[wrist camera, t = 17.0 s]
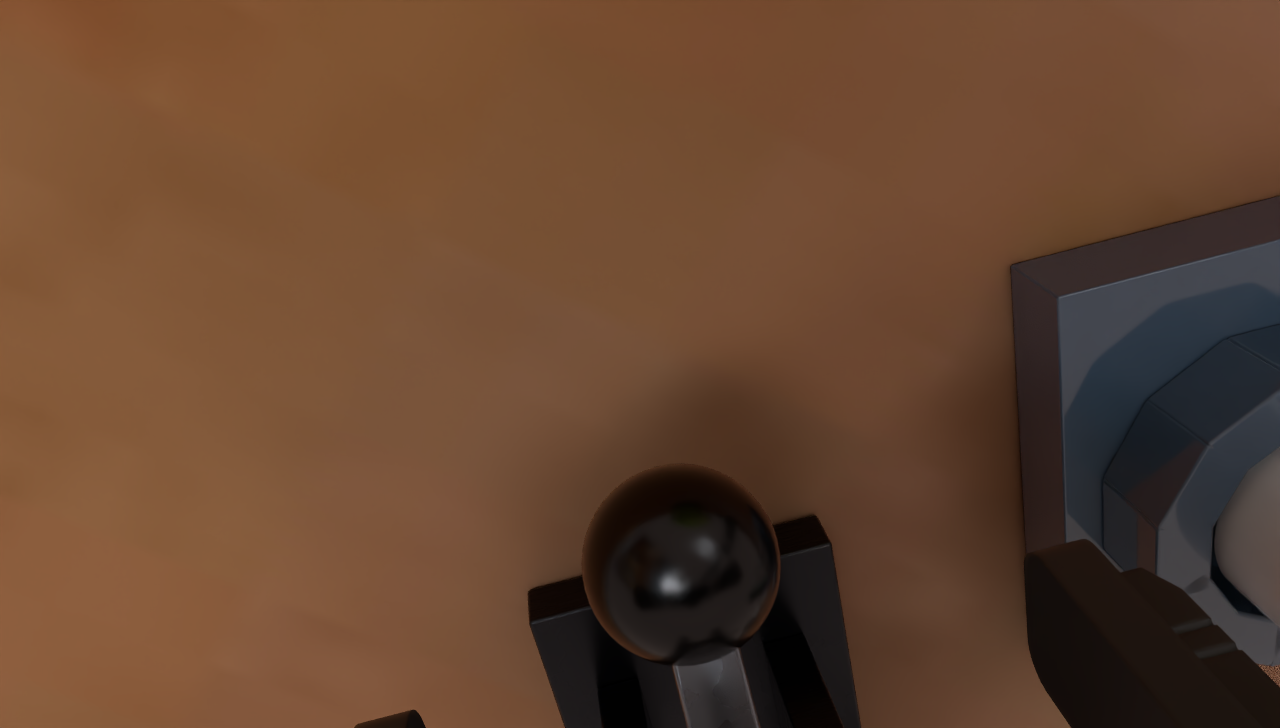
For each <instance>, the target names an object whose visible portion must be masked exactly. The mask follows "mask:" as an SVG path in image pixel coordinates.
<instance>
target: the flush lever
mask: <svg viewBox="0 0 1280 728" xmlns="http://www.w3.org/2000/svg"><path fill="white" fill-rule="evenodd" d="M780 574H781V558H780V549H779V544H778V539H777V536H776V533H775V531H774V528H773V525H772V523H771V521H770V519H769V517H768V515H767V514H766V512H765V511H764V509H763V508H762V506H761V505H760V503H759V502H758V501H757V500H756V499H755V497H754V496H753V495H752V494H751V493H750V492H749V491H748V490H747V489H746V488H744V487H743V486H742V485H741V484H740V483H738V482H737V481H735V480H734V479H732V478H731V477H729V476H727V475H725V474H723V473H721V472H719V471H716V470H713V469H710V468H708V467H703V466H699V465H694V464H668V465H662V466H657V467H654V468H651V469H647V470H644V471H642V472H640V473H638V474H636V475H634V476H632V477H630V478H629V479H627V480H626V481H624V482H623V483H621V484H620V485H619V486H618V487H617V488H615V489H614V490H613V491H612V492H611V493H610V494H609V495H608V496H607V498H606V499H605V500H604V501H603V502H602V504H601V505H600V507H599V508H598V510H597V511H596V512H595V514H594V516H593V518H592V520H591V522H590V524H589V527H588V530H587V533H586V536H585V540H584V545H583V550H582V578H583V583H584V589H585V593H586V596H587V599H588V602H589V604H590V607H591V609H592V611H593V613H594V615H595V617H596V618H597V620H598V621H599V623H600V624H601V626H602V627H603V628H604V630H605V631H606V632H607V633H608V634H609V635H610V637H612V638H613V639H614V640H615V641H616V642H617V643H618V644H619V645H620V646H622V647H623V648H625V649H626V650H628V651H629V652H631V653H632V654H634V655H636V656H638V657H640V658H642V659H645V660H648V661H650V662H653V663H657V664H661V665H666V666H672V670H673V674H674V678H675V682H676V686H677V690H678V694H679V698H680V701H681V705H682V709H683V713H684V717H685V721H686V725H687V728H761V727H760V724H759V720H758V716H757V712H756V708H755V705H754V701H753V697H752V693H751V689H750V686H749V682H748V678H747V674H746V670H745V666H744V663H743V659H742V655H741V651H740V647H742V646H743V645H744V644H745V643H746V642H748V641H749V640H750V639H751V638H752V637H753V636H754V635H755V633H756V632H757V631H758V630H759V629H760V628H761V626H762V624H763V623H764V621H765V620H766V618H767V617H768V615H769V613H770V611H771V609H772V607H773V604H774V602H775V599H776V595H777V592H778V588H779V583H780Z"/></svg>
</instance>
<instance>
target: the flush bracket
mask: <svg viewBox="0 0 1280 728" xmlns="http://www.w3.org/2000/svg"><path fill="white" fill-rule="evenodd" d="M773 528H774V531H775V533H776V536H777V539H778V544H779V549H780V558H781V574H780V583H779V588H778V592H777V595H776V599H775V602H774V604H773V607H772V609H771V611H770V613H769V615H768V617H767V618H766V620H765V621H764V623H763V624H762V626H761V628H760V629H759V630H758V631H757V632H756V633H755V635H754V636H753V637H752V638H751V639H750V640H749V641H748V642H746V643H745V644H744V645H743V646H742V647H740V651H741V655H742V659H743V663H744V666H745V670H746V674H747V678H748V682H749V686H750V689H751V693H752V697H753V701H754V705H755V708H756V712H757V716H758V720H759V724H760V727H761V728H861V723H860V717H859V711H858V704H857V698H856V692H855V686H854V680H853V673H852V667H851V661H850V655H849V649H848V643H847V636H846V630H845V624H844V618H843V612H842V606H841V599H840V593H839V587H838V581H837V575H836V568H835V562H834V556H833V550H832V544H831V542H830V540H829V538H828V536H827V534H826V532H825V530H824V529H823V527H822V525H821V523H820V521H819V519H818V517H817V516H814V515H813V516H809V517H806V518H802V519H798V520H794V521H790V522H787V523H783V524H779V525H775V526H773ZM528 610H529V624H530V627H531V630H532V633H533V636H534V639H535V642H536V645H537V648H538V651H539V654H540V656H541V659H542V662H543V665H544V668H545V671H546V674H547V677H548V680H549V683H550V685H551V688H552V691H553V694H554V697H555V700H556V703H557V706H558V709H559V712H560V715H561V717H562V720H563V723H564V726H565V728H687V725H686V721H685V717H684V713H683V709H682V705H681V701H680V698H679V694H678V690H677V686H676V682H675V678H674V674H673V670H672V666H666V665H661V664H657V663H653V662H650V661H648V660H645V659H642V658H640V657H638V656H636V655H634V654H632V653H631V652H629V651H628V650H626V649H625V648H623V647H622V646H620V645H619V644H618V643H617V642H616V641H615V640H614V639H613V638H612V637H610V635H609V634H608V633H607V632H606V631H605V630H604V628H603V627H602V626H601V624H600V623H599V621H598V620H597V618H596V617H595V615H594V613H593V611H592V609H591V607H590V604H589V602H588V599H587V596H586V593H585V589H584V583H583V578H582V577H578V578H574V579H570V580H567V581H563V582H559V583H555V584H551V585H548V586H544V587H540V588H536V589H532V590H530V591H528Z"/></svg>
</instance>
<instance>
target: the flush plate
mask: <svg viewBox="0 0 1280 728" xmlns="http://www.w3.org/2000/svg"><path fill="white" fill-rule="evenodd" d="M1011 282H1012V300H1013V319H1014V337H1015V356H1016V374H1017V392H1018V411H1019V429H1020V447H1021V466H1022V484H1023V503H1024V521H1025V539H1026V555H1027V553H1029V552H1033V551H1037V550H1041V549H1045V548H1049V547H1052V546H1056V545H1060V544H1064V543H1068V542H1072V541H1076V540H1080V539H1087V540H1089V541H1091V542H1092V543H1093V544H1094V545H1095V546H1096V547H1097V548H1098V549H1099V550H1100V551H1101V552H1102V553H1103V554H1104V555H1105V556H1106V557H1107V559H1108V560H1109V561H1110V562H1111V563H1112V564H1113V565H1114V566H1115V567H1116V568H1117V569H1118V571H1119V572H1124V571H1128V570H1132V569H1136V568H1140V567H1141V568H1143V569H1145V570H1147V571H1149V572H1151V573H1153V574H1155V575H1157V576H1158V577H1160V578H1162V579H1164V580H1166V581H1168V582H1170V583H1172V584H1174V585H1176V586H1178V587H1179V588H1181V589H1183V590H1184V591H1185V592H1186V593H1187V594H1188V595H1189V596H1190V597H1191V598H1192V599H1193V600H1194V601H1195V602H1196V603H1197V604H1198V605H1199V606H1200V607H1201V609H1202V610H1203V611H1204V612H1205V613H1206V614H1207V615H1208V616H1209V617H1210V618H1211V619H1212V622H1213V624H1214V625H1218V626H1219V627H1220V628H1221V629H1222V630H1223V631H1224V632H1225V633H1226V634H1227V635H1228V636H1229V637H1230V638H1231V639H1232V640H1233V641H1234V642H1235V643H1236V646H1237V648H1238V650H1243V651H1244V652H1245V653H1246V654H1247V655H1248V656H1249V657H1250V658H1251V659H1252V660H1253V661H1254V662H1255V663H1256V664H1259V665H1265V666H1269V665H1270V666H1271V667H1274V666H1277V665H1280V629H1279V628H1278V627H1277V626H1276V625H1275V624H1274V623H1273V622H1272V621H1270V620H1269V619H1268V618H1267V617H1266V616H1265V615H1264V614H1263V613H1262V612H1261V611H1259V610H1258V609H1257V608H1256V607H1255V606H1254V605H1253V604H1252V603H1251V602H1250V601H1248V600H1247V599H1246V598H1245V597H1244V596H1243V595H1242V594H1241V593H1240V592H1239V591H1238V590H1236V589H1235V588H1234V587H1233V586H1232V585H1231V584H1230V583H1229V582H1228V581H1227V580H1226V578H1225V577H1224V575H1223V574H1222V572H1221V571H1220V568H1219V566H1218V563H1217V561H1216V556H1215V551H1214V535H1215V527H1216V524H1217V520H1218V519H1219V517H1220V515H1221V514H1222V512H1223V511H1224V509H1225V507H1226V506H1227V504H1228V503H1229V501H1230V499H1231V498H1232V496H1233V494H1234V493H1235V491H1236V490H1237V488H1238V486H1239V485H1240V483H1241V482H1242V480H1243V478H1244V477H1245V475H1246V473H1247V472H1248V470H1250V469H1251V468H1252V467H1254V466H1255V465H1256V464H1258V463H1259V462H1260V461H1262V460H1263V459H1264V458H1266V457H1267V456H1268V455H1270V454H1271V453H1272V452H1274V451H1275V450H1277V449H1278V448H1279V447H1280V196H1278V197H1274V198H1270V199H1266V200H1262V201H1258V202H1254V203H1251V204H1247V205H1243V206H1239V207H1235V208H1231V209H1227V210H1223V211H1219V212H1216V213H1212V214H1208V215H1204V216H1200V217H1196V218H1192V219H1188V220H1185V221H1181V222H1177V223H1173V224H1169V225H1165V226H1161V227H1157V228H1154V229H1150V230H1146V231H1142V232H1138V233H1134V234H1130V235H1126V236H1122V237H1119V238H1115V239H1111V240H1107V241H1103V242H1099V243H1095V244H1091V245H1088V246H1084V247H1080V248H1076V249H1072V250H1068V251H1064V252H1060V253H1057V254H1053V255H1049V256H1045V257H1041V258H1037V259H1033V260H1029V261H1025V262H1022V263H1018V264H1014V265H1011Z"/></svg>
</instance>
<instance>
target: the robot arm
mask: <svg viewBox="0 0 1280 728" xmlns="http://www.w3.org/2000/svg"><path fill="white" fill-rule="evenodd" d="M1024 576H1025V594H1026V613H1027V631H1028V644H1029V650H1030V654H1031V658H1032V661H1033V664H1034V667H1035V670H1036V672H1037V674H1038V677H1039V679H1040V681H1041V683H1042V685H1043V686H1044V688H1045V690H1046V691H1047V693H1048V695H1049V696H1050V697H1051V699H1052V700H1053V702H1054V703H1055V705H1056V706H1057V708H1058V709H1059V711H1060V712H1061V713H1062V715H1063V716H1064V718H1065V719H1066V721H1067V722H1068V724H1069V725H1070V727H1071V728H1280V687H1279V686H1278V685H1277V684H1276V683H1275V682H1274V681H1273V680H1272V679H1271V678H1270V677H1269V676H1268V675H1267V674H1266V673H1265V672H1264V671H1263V670H1262V669H1261V668H1260V667H1259V666H1258V665H1257V664H1256V663H1255V662H1254V661H1253V660H1252V659H1251V658H1250V657H1249V656H1248V655H1247V654H1246V653H1245V652H1244V651H1243V650H1238V648H1237V646H1236V643H1235V642H1234V641H1233V640H1232V639H1231V638H1230V637H1229V636H1228V635H1227V634H1226V633H1225V632H1224V631H1223V630H1222V629H1221V628H1220V627H1219V626H1218V625H1214V624H1213V622H1212V619H1211V618H1210V617H1209V616H1208V615H1207V614H1206V613H1205V612H1204V611H1203V610H1202V609H1201V607H1200V606H1199V605H1198V604H1197V603H1196V602H1195V601H1194V600H1193V599H1192V598H1191V597H1190V596H1189V595H1188V594H1187V593H1186V592H1185V591H1184V590H1183V589H1181V588H1179V587H1178V586H1176V585H1174V584H1172V583H1170V582H1168V581H1166V580H1164V579H1162V578H1160V577H1158V576H1157V575H1155V574H1153V573H1151V572H1149V571H1147V570H1145V569H1143V568H1141V567H1140V568H1136V569H1132V570H1128V571H1124V572H1119V571H1118V569H1117V568H1116V567H1115V566H1114V565H1113V564H1112V563H1111V562H1110V561H1109V560H1108V559H1107V557H1106V556H1105V555H1104V554H1103V553H1102V552H1101V551H1100V550H1099V549H1098V548H1097V547H1096V546H1095V545H1094V544H1093V543H1092V542H1091V541H1089V540H1087V539H1080V540H1076V541H1072V542H1068V543H1064V544H1060V545H1056V546H1052V547H1049V548H1045V549H1041V550H1037V551H1033V552H1029V553H1027V555H1026V556H1025V560H1024ZM354 728H426V727H425V725H424V722H423V720H422V718H421V716H420V715H419V713H418V712H417V711H415V710H410V711H406V712H402V713H398V714H394V715H391V716H387V717H383V718H379V719H375V720H371V721H367V722H363V723H360V724H357V725H356V726H355V727H354Z"/></svg>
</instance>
